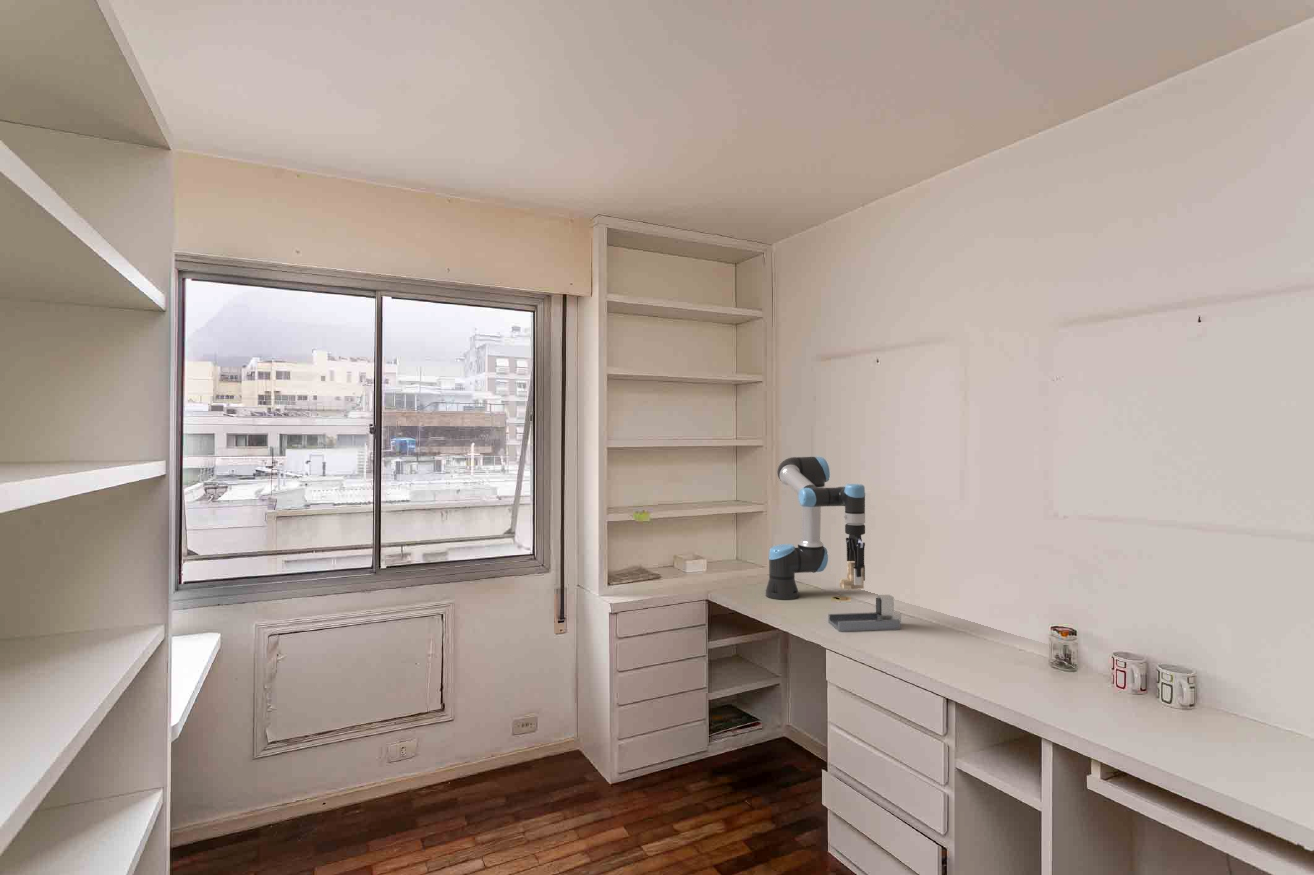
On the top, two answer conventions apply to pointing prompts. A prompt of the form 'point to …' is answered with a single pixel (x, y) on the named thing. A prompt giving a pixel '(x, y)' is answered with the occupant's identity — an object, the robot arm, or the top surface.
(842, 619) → the grey tray with panel
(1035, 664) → the top surface
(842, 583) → the wooden stepped block
